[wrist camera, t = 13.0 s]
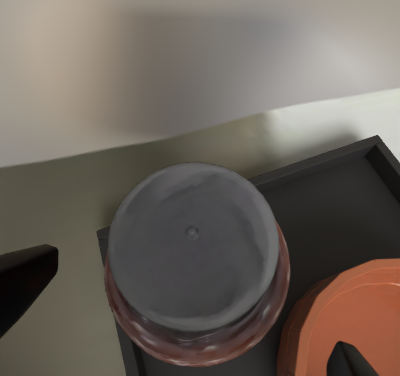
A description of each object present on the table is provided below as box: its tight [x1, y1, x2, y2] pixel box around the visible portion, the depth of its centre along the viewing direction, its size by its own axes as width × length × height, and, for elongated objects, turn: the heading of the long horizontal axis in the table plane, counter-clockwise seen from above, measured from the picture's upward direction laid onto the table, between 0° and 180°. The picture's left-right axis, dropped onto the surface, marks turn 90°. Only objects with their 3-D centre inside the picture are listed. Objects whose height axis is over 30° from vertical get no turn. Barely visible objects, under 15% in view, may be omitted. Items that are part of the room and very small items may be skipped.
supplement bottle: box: [104, 162, 290, 367], centre depth 12 cm, size 6×6×11 cm
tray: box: [97, 135, 400, 376], centre depth 15 cm, size 19×19×2 cm
